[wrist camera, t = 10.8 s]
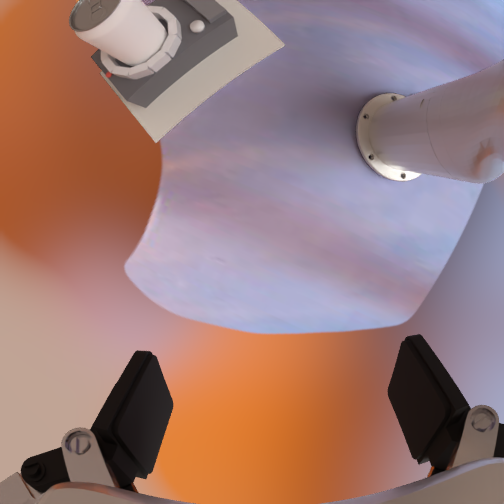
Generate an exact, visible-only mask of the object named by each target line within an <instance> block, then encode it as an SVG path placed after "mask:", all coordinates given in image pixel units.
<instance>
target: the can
mask: <svg viewBox="0 0 504 504" xmlns="http://www.w3.org/2000/svg"><path fill="white" fill-rule="evenodd" d="M69 24H70V27H71V28H72V29H73V30H74V31H75V33H76V35H77V36H78V37H79V38H80V39H82V40H83V41H85V42H87V43H89V44H91V45H93V46H95V47H96V48H98V49H100V50H102V51H104V52H105V53H107V54H109V55H111V56H112V57H114V58H116V59H118V60H120V61H121V62H123V63H125V64H127V65H130V66H136V65H139V64H142V63H145V62H147V61H148V60H149V59H150V58H151V57H153V56H154V55H155V54H156V53H157V52H159V51H160V50H161V48H162V46H163V44H164V42H165V40H166V39H167V31H166V29H165V28H164V26H163V25H162V24H161V23H160V22H159V20H158V19H157V18H156V17H155V16H154V15H153V13H152V12H151V11H150V10H149V9H148V8H147V7H146V5H145V4H144V3H143V2H142V1H141V0H79V1H78V2H77V3H76V5H75V6H74V8H73V10H72V12H71V15H70V18H69Z"/></svg>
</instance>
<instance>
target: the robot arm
mask: <svg viewBox="0 0 504 504" xmlns="http://www.w3.org/2000/svg"><path fill="white" fill-rule="evenodd" d="M391 98H392V99H393V100H392V99H391ZM363 116H365V117H366V118H365V119H364V117H363ZM356 138H357V143H358V147H359V149H360V152H361V154H362V156H363V158H364V159H365V161H366V163H367V164H368V165H369V166H370V167H371V168H372V169H373V170H374V171H375V172H376V173H377V174H379V175H381V176H383V177H384V178H387V179H390V180H394V181H409V180H412V179H415V178H417V177H418V176H420V175H421V174H427V175H433V176H438V177H444V178H449V179H454V180H459V181H465V182H470V183H478V184H480V183H487V182H490V181H493V180H495V179H496V178H498V177H499V176H500V175H501V174H502V173H503V172H504V59H503V60H502V61H500V62H498V63H496V64H494V65H492V66H490V67H488V68H486V69H484V70H482V71H480V72H477V73H475V74H472V75H470V76H467V77H464V78H461V79H458V80H455V81H452V82H449V83H446V84H443V85H440V86H437V87H434V88H431V89H428V90H425V91H422V92H419V93H416V94H413V95H410V96H408V97H405V96H403V95H400V94H395V93H386V94H381V95H378V96H376V97H374V98H372V99H371V100H369V101H368V102H367V103H366V104H365V105H364V106H363V108H362V110H361V111H360V113H359V116H358V119H357V124H356ZM369 155H370V159H369V158H368V156H369ZM401 175H402V176H401ZM388 397H389V399H390V401H391V404H392V406H393V409H394V411H395V413H396V416H397V419H398V421H399V424H400V426H401V428H402V431H403V433H404V436H405V439H406V442H407V444H408V447H409V450H410V452H411V455H412V457H413V458H414V459H417V462H418V464H422V463H425V462H427V461H430V463H431V466H432V467H431V469H430V471H429V474H428V476H427V478H425V479H422V480H419V481H416V482H413V483H410V484H407V485H403V486H400V487H397V488H394V489H390V490H387V491H383V492H379V493H375V494H371V495H367V496H362V497H358V498H353V499H348V500H342V501H336V502H329V503H323V504H504V424H501V423H499V418H498V415H497V413H496V411H495V410H494V409H492V408H491V407H489V406H486V405H478V406H475V407H474V408H472V409H471V408H470V406H469V404H468V403H467V401H466V399H465V398H464V396H463V395H462V393H461V392H460V390H459V388H458V387H457V385H456V384H455V383H454V381H453V379H452V378H451V377H450V375H449V373H448V372H447V370H446V369H445V368H444V366H443V365H442V363H441V362H440V360H439V359H438V357H437V356H436V355H435V353H434V352H433V351H432V349H431V348H430V346H429V345H428V343H427V342H426V341H425V339H424V338H423V337H422V336H421V335H420V334H418V335H413V336H408V337H406V338H405V341H402V343H401V346H400V350H399V353H398V357H397V361H396V364H395V368H394V371H393V374H392V378H391V381H390V384H389V387H388ZM172 409H173V400H172V398H171V395H170V392H169V390H168V387H167V384H166V382H165V380H164V377H163V374H162V371H161V368H160V365H159V362H158V360H157V357H156V356H155V355H153V354H152V353H151V352H150V351H136V352H135V353H134V355H133V356H132V358H131V360H130V361H129V363H128V365H127V366H126V368H125V370H124V372H123V373H122V375H121V377H120V378H119V380H118V382H117V383H116V384H115V386H114V388H113V389H112V391H111V393H110V395H109V396H108V398H107V400H106V402H105V404H104V405H103V407H102V409H101V411H100V412H99V414H98V416H97V418H96V420H95V422H94V423H93V425H92V427H91V429H90V430H88V429H86V428H75V429H72V430H70V431H69V432H67V433H66V434H65V436H64V437H63V440H62V442H61V444H62V447H60V448H57V449H54V450H51V451H48V452H45V453H42V454H39V455H36V456H33V457H30V458H28V459H27V460H26V461H24V463H23V465H22V468H21V473H20V474H19V473H18V472H16V473H14V474H13V475H12V476H10V477H8V478H7V479H5V480H4V481H2V482H1V483H0V504H194V503H187V502H181V501H174V500H169V499H164V498H158V497H153V496H148V495H144V494H140V493H138V491H137V489H136V487H135V485H134V483H133V482H134V479H135V477H139V478H143V479H146V478H147V475H148V474H150V473H151V472H152V471H153V468H154V465H155V462H156V459H157V456H158V452H159V449H160V446H161V443H162V440H163V437H164V434H165V431H166V428H167V425H168V421H169V419H170V416H171V413H172Z"/></svg>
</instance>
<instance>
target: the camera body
mask: <svg viewBox="0 0 504 504" xmlns="http://www.w3.org/2000/svg"><path fill="white" fill-rule="evenodd" d="M146 7H147V8H148V9H149V10H150V11H151V12H152V13H153V15H154V16H155V17H156V18H157V19H158V20H159V22H160V23H161V24H162V25H163V26H164V28H165V29H166V31H167V39H166V40H165V42H164V44H163V46H162V48H161V50H160V51H159V52H157V53H156V54H155V55H154V56H153V57H151V58H150V59H149V60H148V61H147V62H145V63H142V64H139V65H136V66H130V65H127V64H125V63H123V62H121V61H120V60H118V59H116V58H114V57H112V56H111V55H109V54H107V53H105V52H104V51H102V50H100V49H98V50H97V51H96V52H95V53H94V54H93V55H92V56H91V58H92V59H93V60H94V61H95V63H96V64H97V65H98V66H99V68H100V69H101V70H102V71H103V73H104V74H105V75H106V77H107V78H108V79H109V80H110V81H111V82H112V84H113V85H114V86H115V87H116V89H117V90H118V91H119V92H120V94H121V95H122V96H123V97H124V98H125V100H126V101H128V102H131V103H134V104H136V105H139V106H142V107H144V108H147V107H148V106H149V105H150V104H151V103H152V102H153V101H154V100H155V99H156V98H157V97H158V96H160V95H161V94H162V93H163V92H164V91H165V90H166V89H168V88H169V87H170V86H171V85H172V84H174V83H175V82H176V81H177V80H178V79H180V78H181V77H182V76H183V75H184V74H186V73H187V72H188V71H190V70H191V69H192V68H193V67H195V66H196V65H197V64H199V63H200V62H201V61H203V60H204V59H205V58H207V57H208V56H209V55H211V54H212V53H214V52H215V51H217V50H218V49H219V48H221V47H222V46H224V45H225V44H227V43H228V42H230V41H231V40H233V39H234V38H236V37H237V36H238V34H237V30H236V25H235V21H234V17H233V16H232V15H231V14H230V13H229V12H227V11H226V9H225V8H224V7H222V6H221V5H220V4H219V3H218V2H216V1H215V0H155V1H154V2H152V3H151V4H150V5H148V6H146Z"/></svg>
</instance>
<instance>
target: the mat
mask: <svg viewBox="0 0 504 504" xmlns="http://www.w3.org/2000/svg"><path fill="white" fill-rule="evenodd" d="M215 1H216V2H218V3H219V4H220V5H221V6H222V7H224V8H225V9H226V11H227V12H229V13H230V14H231V15H232V16H233V17H234V21H235V25H236V30H237V34H238V36H237V37H236V38H234V39H233V40H231V41H230V42H228V43H227V44H225V45H224V46H222V47H221V48H219V49H218V50H217V51H215V52H214V53H212V54H211V55H209V56H208V57H207V58H205V59H204V60H203V61H201V62H200V63H199V64H197V65H196V66H195V67H193V68H192V69H191V70H190V71H188V72H187V73H186V74H184V75H183V76H182V77H181V78H180V79H178V80H177V81H176V82H175V83H174V84H172V85H171V86H170V87H169V88H168V89H166V90H165V91H164V92H163V93H162V94H161V95H160V96H158V97H157V98H156V99H155V100H154V101H153V102H152V103H151V104H150V105H149V106H148V107H147V108H144V107H142V106H139V105H136V104H134V103H131V102H128V101H126V100H125V98H124V97H123V96H122V95H121V94H120V92H119V91H118V90H117V89H116V87H115V86H114V85H113V84H112V82H111V81H110V80H109V79H108V78H107V77H106V75H105V74H104V73H103V71H101V72H100V74H101V76H102V77H103V78H104V79H105V80H106V82H107V83H108V84H109V86H110V87H111V88H112V89H113V90H114V92H115V93H116V94H117V95H118V96H119V98H120V99H121V100H122V102H123V103H124V104H125V105H126V106H127V108H128V109H129V110H130V111H131V113H132V114H133V115H134V116H135V118H136V119H137V120H138V122H139V123H140V124H141V125H142V126H143V128H144V129H145V130H146V131H147V133H148V134H149V135H150V136H151V137H152V139H153V140H154V141H155V143H157V142H158V141H159V140H160V139H161V138H162V137H163V136H164V135H166V134H167V133H168V132H169V131H170V130H171V129H172V128H173V127H174V126H176V125H177V124H178V123H179V122H180V121H181V120H182V119H184V118H185V117H186V116H187V115H188V114H190V113H191V112H192V111H193V110H194V109H196V108H197V107H198V106H199V105H201V104H202V103H203V102H204V101H206V100H207V99H208V98H209V97H211V96H212V95H213V94H215V93H216V92H217V91H218V90H220V89H221V88H222V87H224V86H225V85H227V84H228V83H229V82H231V81H232V80H233V79H235V78H236V77H238V76H239V75H241V74H242V73H243V72H245V71H246V70H248V69H249V68H251V67H252V66H254V65H255V64H257V63H258V62H260V61H261V60H263V59H264V58H266V57H268V56H269V55H271V54H272V53H274V52H276V51H277V50H279V49H281V48H282V47H284V46H285V44H284V43H283V42H282V41H281V40H280V39H279V38H278V37H277V36H276V35H275V34H274V33H273V32H272V31H270V30H269V29H268V28H267V27H266V26H265V25H264V24H263V23H262V22H261V21H260V20H259V19H258V18H257V17H255V16H254V15H253V14H252V13H251V12H250V11H249V10H247V9H246V8H245V7H244V6H243V5H242V4H240V3H239V2H238V1H237V0H215Z"/></svg>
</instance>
